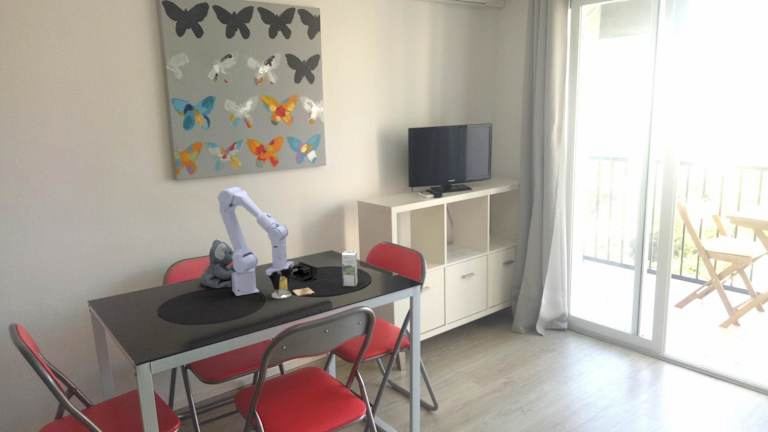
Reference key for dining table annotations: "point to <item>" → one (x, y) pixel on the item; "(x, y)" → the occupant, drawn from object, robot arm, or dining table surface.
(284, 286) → the yellow cube
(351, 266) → the syrup box
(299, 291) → the pad
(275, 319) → the dining table surface
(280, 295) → the grey lumpy disc
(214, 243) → the koala plush
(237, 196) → the robot arm
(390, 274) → the dining table surface
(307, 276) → the black open frame block
